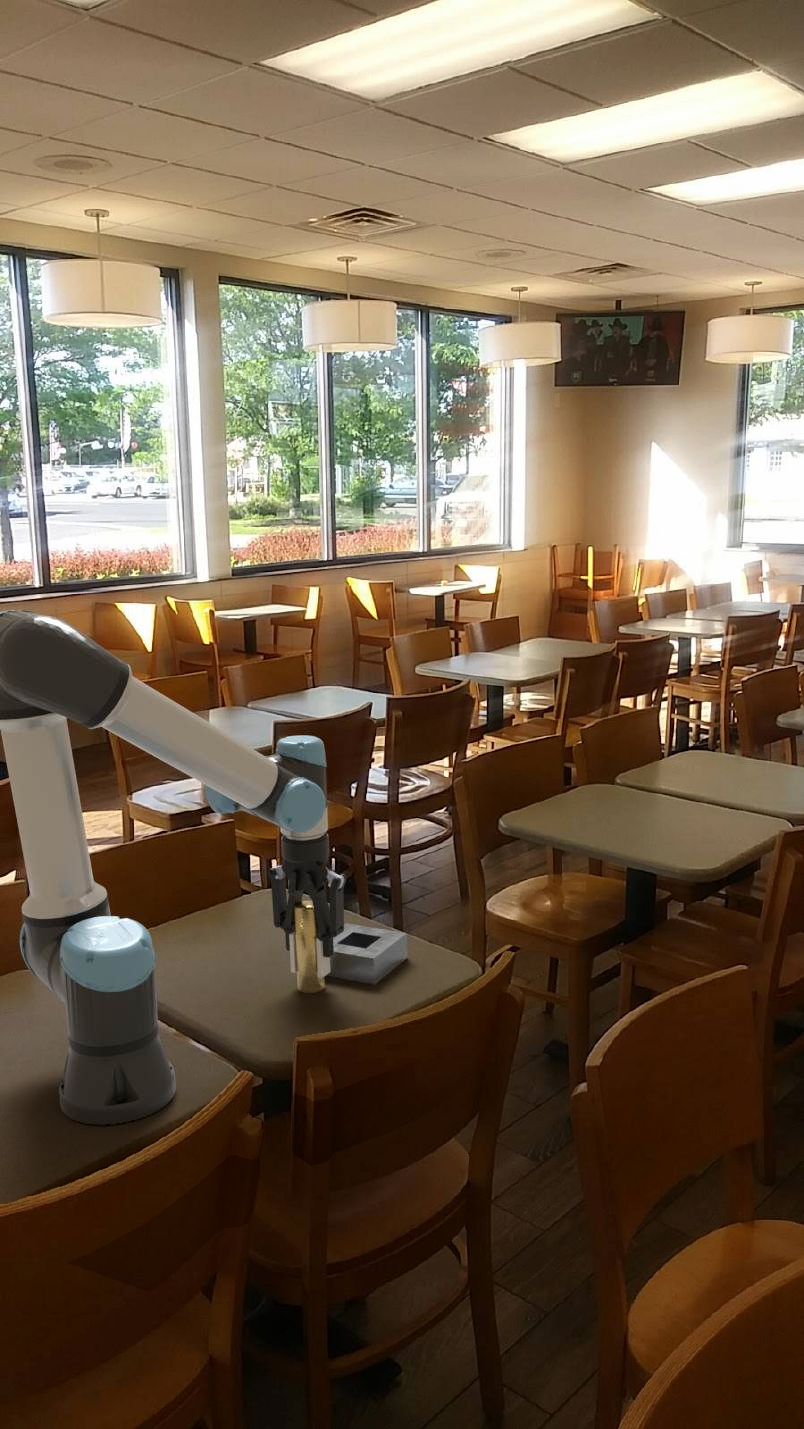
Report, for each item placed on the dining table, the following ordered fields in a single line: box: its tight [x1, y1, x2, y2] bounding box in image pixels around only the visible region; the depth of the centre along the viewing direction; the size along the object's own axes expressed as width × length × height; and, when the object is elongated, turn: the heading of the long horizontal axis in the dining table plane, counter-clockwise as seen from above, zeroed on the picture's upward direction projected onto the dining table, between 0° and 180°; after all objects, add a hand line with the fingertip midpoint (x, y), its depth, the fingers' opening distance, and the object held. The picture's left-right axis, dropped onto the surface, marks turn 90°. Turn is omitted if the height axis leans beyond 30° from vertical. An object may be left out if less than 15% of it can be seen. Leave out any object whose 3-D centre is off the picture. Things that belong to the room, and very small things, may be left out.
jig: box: [325, 922, 408, 985], centre depth 194 cm, size 12×12×4 cm
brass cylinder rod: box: [294, 900, 326, 994], centre depth 185 cm, size 4×4×14 cm
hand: (310, 971), depth 186 cm, fingers closed on brass cylinder rod, 4 cm apart
